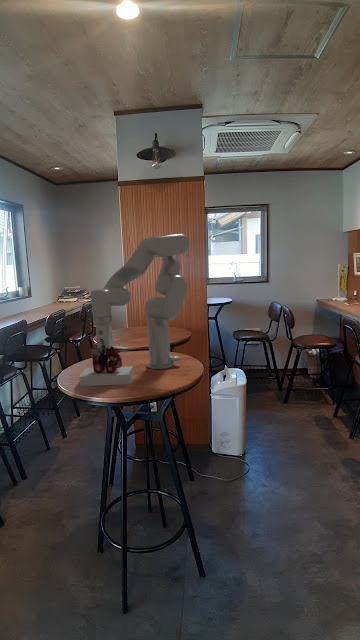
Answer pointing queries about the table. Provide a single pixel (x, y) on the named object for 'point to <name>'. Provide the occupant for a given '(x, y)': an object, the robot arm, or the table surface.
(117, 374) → the block
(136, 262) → the robot arm
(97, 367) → the toy fire truck
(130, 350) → the table surface
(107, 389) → the table surface
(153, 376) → the table surface
